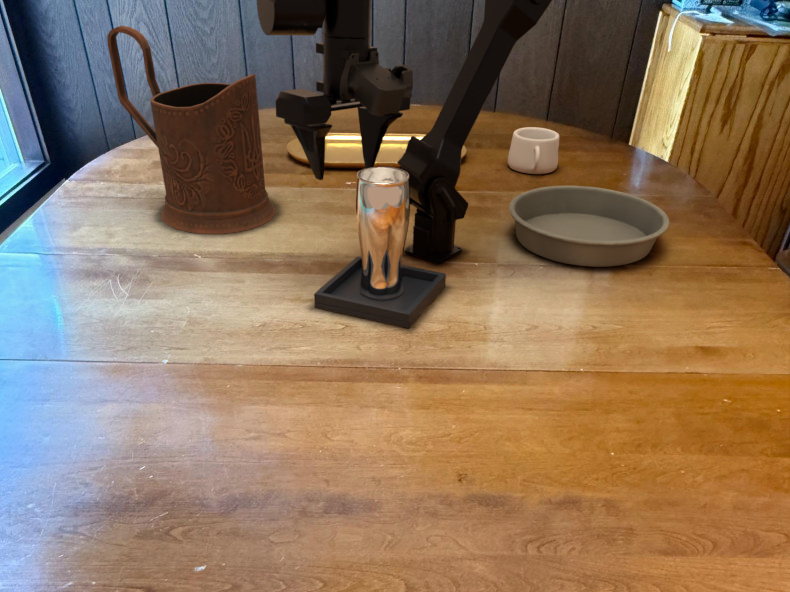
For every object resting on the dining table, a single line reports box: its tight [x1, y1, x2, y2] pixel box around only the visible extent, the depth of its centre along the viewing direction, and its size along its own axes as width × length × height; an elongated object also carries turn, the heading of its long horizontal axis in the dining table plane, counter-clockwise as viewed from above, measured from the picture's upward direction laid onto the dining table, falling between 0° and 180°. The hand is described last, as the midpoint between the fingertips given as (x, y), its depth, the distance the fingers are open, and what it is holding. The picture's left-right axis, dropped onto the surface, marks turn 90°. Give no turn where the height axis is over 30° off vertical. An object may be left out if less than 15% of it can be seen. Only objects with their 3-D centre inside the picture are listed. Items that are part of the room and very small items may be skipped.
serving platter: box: [286, 132, 467, 170], centre depth 151 cm, size 19×35×2 cm, turn 93°
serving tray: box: [313, 255, 447, 329], centre depth 105 cm, size 14×14×2 cm
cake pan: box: [508, 185, 670, 268], centre depth 122 cm, size 25×25×4 cm
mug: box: [507, 126, 560, 175], centre depth 147 cm, size 12×10×6 cm
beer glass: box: [354, 167, 411, 300], centre depth 101 cm, size 7×7×15 cm
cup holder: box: [106, 25, 276, 235], centre depth 120 cm, size 18×24×25 cm
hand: (344, 173), depth 103 cm, fingers open, 9 cm apart
